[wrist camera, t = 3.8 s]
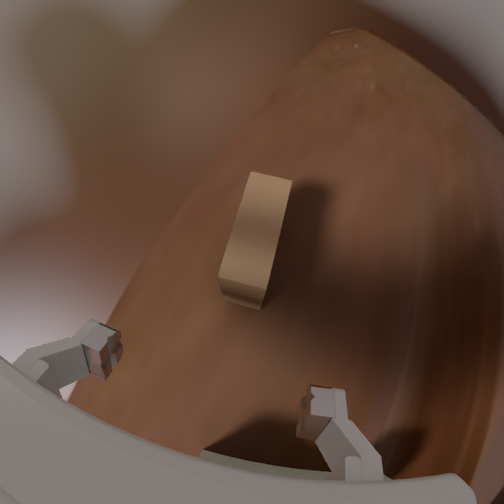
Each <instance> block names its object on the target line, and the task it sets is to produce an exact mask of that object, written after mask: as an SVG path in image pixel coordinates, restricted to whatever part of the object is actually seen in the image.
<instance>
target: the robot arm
mask: <svg viewBox="0 0 504 504" xmlns="http://www.w3.org/2000/svg"><path fill="white" fill-rule="evenodd" d="M121 338H122V337H121V332H120V331H119V330H116V329H114V328H112V327H109V326H107V325H105V324H103V323H100V322H98V321H95V320H94V319H91V320H89V321H88V322H87V323H86V324H85V325H84V326H83V327H82V328H81V329H80V330H79V331H78V332H77V333H76V334H75V335H74V336H73V337H72V338H71V339H70V338H65V339H62V340H58V341H55V342H51V343H48V344H44V345H41V346H37V347H34V348H30V349H27V350H26V351H25V352H24V353H23V354H22V355H21V356H20V357H19V358H18V359H17V360H16V361H15V362H14V363H13V364H11V363H9V362H8V361H7V360H5V359H4V358H3V357H2V356H0V504H477V502H476V497H475V494H474V492H473V490H472V489H471V488H470V487H469V486H468V485H467V484H466V483H465V482H464V481H463V480H462V479H461V478H460V477H459V476H457V475H456V474H454V473H447V474H441V475H435V476H428V477H420V478H411V479H399V480H384V478H383V468H382V459H381V456H380V455H379V453H378V452H377V451H376V450H375V449H374V447H373V446H372V445H371V444H370V443H369V441H368V440H367V439H366V438H365V436H364V435H363V434H362V433H361V432H360V430H359V429H358V428H357V427H356V425H355V424H354V423H353V422H352V420H348V414H347V403H346V394H345V390H343V389H336V388H330V387H323V386H317V385H311V384H310V385H309V386H308V387H307V389H306V395H305V396H303V397H302V399H301V401H300V404H299V407H298V413H297V417H298V418H299V422H298V424H297V427H296V438H301V439H307V440H314V441H315V443H316V445H317V446H318V448H319V450H320V452H321V454H322V455H323V457H324V459H325V461H326V462H327V464H328V466H329V468H330V469H331V471H332V472H331V473H329V474H328V475H327V476H326V477H325V478H324V479H323V480H317V479H306V478H296V477H288V476H281V475H274V474H267V473H262V472H256V471H251V470H246V469H241V468H236V467H232V466H228V465H224V464H219V463H216V462H212V461H208V460H204V459H201V458H197V457H194V456H191V455H188V454H184V453H181V452H178V451H175V450H172V449H169V448H167V447H164V446H161V445H158V444H156V443H153V442H150V441H148V440H145V439H143V438H140V437H138V436H135V435H133V434H131V433H128V432H126V431H124V430H121V429H119V428H117V427H115V426H113V425H111V424H109V423H106V422H104V421H102V420H100V419H98V418H96V417H94V416H92V415H91V414H89V413H87V412H85V411H83V410H81V409H79V408H78V407H76V406H74V405H72V404H71V403H69V402H67V401H65V400H63V399H62V396H61V394H60V391H59V389H60V388H62V387H64V386H66V385H69V384H71V383H73V382H75V381H77V380H79V379H81V378H83V377H85V376H87V375H89V373H90V374H92V375H94V376H97V377H99V378H101V379H103V380H106V379H107V377H108V376H109V375H110V373H111V372H112V366H113V365H116V364H118V362H119V361H120V359H121V356H122V353H123V345H122V344H121V342H120V341H119V340H120V339H121Z"/></svg>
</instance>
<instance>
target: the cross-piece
mask: <svg viewBox="0 0 504 504" xmlns="http://www.w3.org/2000/svg"><path fill="white" fill-rule="evenodd" d="M291 184H292V181H291V180H286V179H282V178H278V177H274V176H269V175H265V174H260V173H256V172H251V173H250V176H249V179H248V182H247V185H246V188H245V191H244V194H243V197H242V200H241V203H240V206H239V209H238V212H237V216H236V219H235V222H234V225H233V228H232V231H231V235H230V238H229V241H228V244H227V247H226V251H225V254H224V257H223V260H222V263H221V267H220V270H219V273H218V280H219V284H220V287H221V290H222V294H223V297H224V300H225V301H226V302H230V303H234V304H238V305H241V306H245V307H249V308H253V309H257V310H260V309H261V306H262V302H263V299H264V296H265V292H266V289H267V285H268V281H269V277H270V273H271V269H272V265H273V261H274V256H275V252H276V248H277V244H278V240H279V236H280V231H281V227H282V223H283V219H284V214H285V210H286V206H287V201H288V197H289V193H290V188H291Z"/></svg>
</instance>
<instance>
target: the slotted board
mask: <svg viewBox="0 0 504 504" xmlns="http://www.w3.org/2000/svg"><path fill="white" fill-rule="evenodd" d="M199 458H201V459H204V460H208V461H212V462H216V463H219V464H224V465H228V466H232V467H236V468H241V469H246V470H251V471H256V472H262V473H267V474H274V475H281V476H288V477H296V478H306V479H317V480H323V479H324V478H325V477H326V476H327V475H328V474H329V473H331V472H324V471H313V470H303V469H295V468H287V467H280V466H274V465H268V464H262V463H257V462H252V461H247V460H243V459H238V458H234V457H229V456H225V455H221V454H218V453H214V452H210V451H207V450H202V452H201V454H200V456H199ZM383 478H384V480H391V479H390V478H388V477H387V476H385V475H384V474H383Z"/></svg>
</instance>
